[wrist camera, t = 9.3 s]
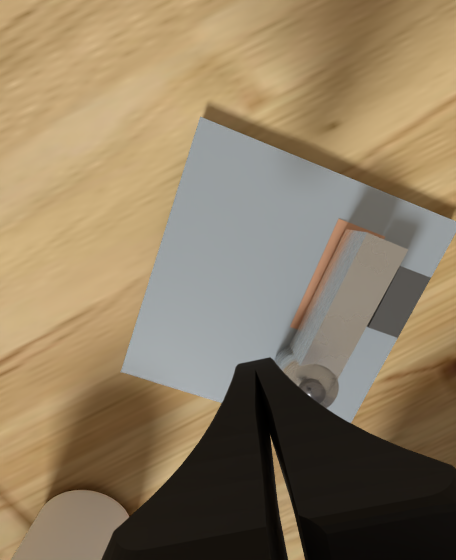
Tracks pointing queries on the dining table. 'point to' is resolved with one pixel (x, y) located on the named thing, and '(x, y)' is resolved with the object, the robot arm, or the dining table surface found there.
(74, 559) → the beverage can
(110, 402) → the dining table surface
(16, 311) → the dining table surface
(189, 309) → the latch board
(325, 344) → the latch bar
